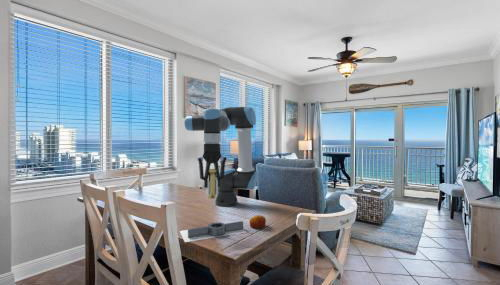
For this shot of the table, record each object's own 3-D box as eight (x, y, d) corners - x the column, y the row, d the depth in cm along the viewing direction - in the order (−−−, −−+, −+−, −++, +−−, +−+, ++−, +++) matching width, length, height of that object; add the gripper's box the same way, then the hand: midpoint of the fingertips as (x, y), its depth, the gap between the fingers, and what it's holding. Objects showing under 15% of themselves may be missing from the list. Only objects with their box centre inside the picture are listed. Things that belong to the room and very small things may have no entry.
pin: (206, 197, 118) (206, 169, 118) (215, 196, 120) (215, 168, 119) (208, 199, 114) (208, 170, 113) (218, 198, 116) (218, 169, 115)
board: (179, 233, 119) (179, 230, 119) (235, 225, 131) (235, 222, 130) (184, 245, 106) (184, 242, 106) (246, 234, 118) (246, 232, 118)
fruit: (255, 231, 118) (251, 214, 122) (249, 235, 124) (246, 218, 128) (270, 228, 121) (266, 212, 125) (264, 232, 128) (260, 216, 131)
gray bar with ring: (186, 234, 115) (186, 226, 115) (239, 226, 125) (239, 219, 125) (189, 240, 107) (189, 232, 107) (246, 231, 118) (246, 224, 118)
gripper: (195, 143, 110) (195, 197, 110) (231, 143, 116) (231, 194, 116) (192, 142, 117) (192, 194, 117) (226, 142, 123) (226, 191, 123)
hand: (212, 194), depth 117 cm, fingers closed on pin, 3 cm apart
